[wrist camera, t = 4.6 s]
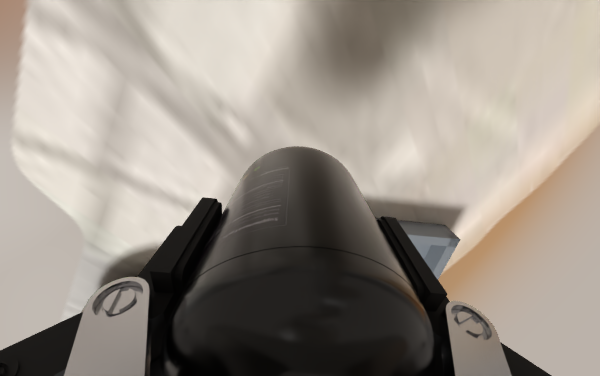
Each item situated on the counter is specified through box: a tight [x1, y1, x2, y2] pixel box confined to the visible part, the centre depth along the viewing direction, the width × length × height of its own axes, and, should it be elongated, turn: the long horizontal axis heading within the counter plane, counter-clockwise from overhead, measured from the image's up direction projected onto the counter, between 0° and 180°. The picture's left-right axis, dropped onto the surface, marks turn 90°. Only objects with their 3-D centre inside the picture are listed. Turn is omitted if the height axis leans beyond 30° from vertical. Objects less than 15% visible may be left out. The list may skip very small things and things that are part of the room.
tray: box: [375, 218, 460, 280], centre depth 27 cm, size 16×14×2 cm
